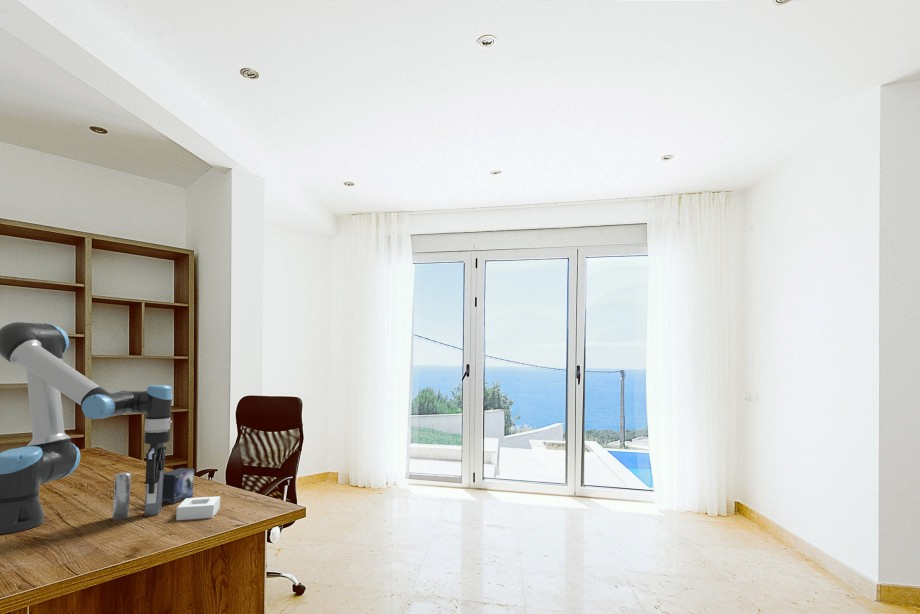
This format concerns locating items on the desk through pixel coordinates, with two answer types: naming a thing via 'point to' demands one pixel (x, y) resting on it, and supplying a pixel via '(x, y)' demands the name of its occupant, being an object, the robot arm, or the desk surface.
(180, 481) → the small box
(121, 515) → the round bit
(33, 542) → the desk surface
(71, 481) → the desk surface
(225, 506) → the desk surface
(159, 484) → the square bit
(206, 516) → the socket block
